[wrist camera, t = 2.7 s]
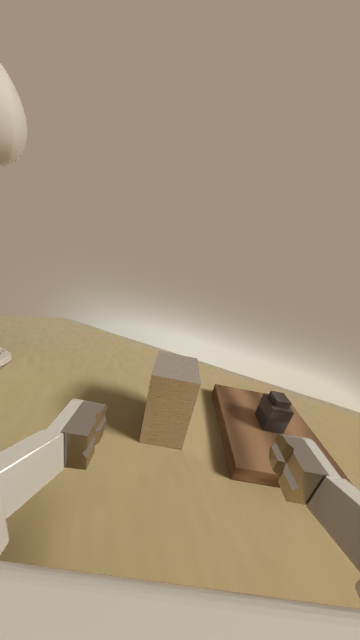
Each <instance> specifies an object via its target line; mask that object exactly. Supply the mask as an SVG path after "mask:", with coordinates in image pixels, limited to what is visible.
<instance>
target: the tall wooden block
mask: <svg viewBox="0 0 360 640" xmlns="http://www.w3.org/2000/svg"><path fill="white" fill-rule="evenodd" d="M200 385H201V382H200V375H199V368H198V360H197V358H191V357H186V356H182V355H177V354H172V353H166V352H161V351H159V352H158V355H157V358H156V362H155V365H154V368H153V372H152V375H151V381H150V386H149V392H148V397H147V402H146V408H145V413H144V419H143V424H142V430H141V435H140V440H139V442H142V443H148V444H153V445H159V446H165V447H170V448H176V449H182V447H183V443H184V440H185V436H186V433H187V430H188V426H189V423H190V419H191V416H192V413H193V409H194V406H195V402H196V399H197V396H198V392H199V389H200Z"/></svg>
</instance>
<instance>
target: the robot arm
mask: <svg viewBox="0 0 360 640" xmlns="http://www.w3.org/2000/svg"><path fill="white" fill-rule="evenodd" d="M26 142H27V122H26V117H25V113H24V109H23V106H22V103H21V100H20V98H19V95H18V93H17V91H16V89H15V87H14V85H13V83H12V81H11V79H10V77H9V76H8V74H7V72H6V71H5V69H4V67H3V66H2V64H1V63H0V165H3V166H6V165H9V164H11V163H13V162H14V161H16V160H17V159H18V158H19V157H20V156H21V154H22V153H23V151H24V148H25V146H26ZM11 360H12V356H11V353H9V352H8V351H6V350H4V349H3V348H1V347H0V367H1V366H3V365H4V364H6V363H8V362H9V361H11ZM106 412H107V405H106V404H101V403H96V402H91V401H86V400H80V399H75V398H74V399H72V400H71V401H70V402H69V403H68V404H67V405H66V407H65V408H64V409H63V410H62V411H61V412H60V414H59V415H58V416H57V417H56V418H55V420H54V421H53V422H52V423H51V424H50V425H49V427H48V428H47V429H46V430H40V431H38V432H36V433H35V434H33V435H31V436H29V437H27V438H25V439H23V440H22V441H20V442H18V443H16V444H14V445H12V446H10V447H9V448H7V449H5V450H3V451H1V452H0V555H1V553H2V552H3V550H4V548H5V547H6V545H7V544H8V542H9V533H8V527H7V522H6V519H7V518H8V517H9V516H10V515H11V514H13V513H14V512H15V511H16V510H17V509H18V508H19V507H21V506H22V505H23V504H24V503H25V502H26V501H27V500H29V499H30V498H31V497H32V496H33V495H34V494H35V493H37V492H38V491H39V490H40V489H41V488H42V487H44V486H45V485H46V484H47V483H48V482H49V481H50V480H52V479H53V478H54V477H55V476H56V475H57V474H58V473H60V472H61V471H62V470H63V469H64V467H66V468H74V469H83V470H86V469H87V467H88V465H89V462H90V460H91V458H92V456H93V454H94V450H95V445H96V444H97V443H99V442H100V440H101V437H102V435H103V432H104V429H105V426H106V417H105V414H106ZM274 440H275V442H276V443H275V444H274V445H272V446H271V447H270V450H269V461H270V465H271V467H272V469H273V471H274V472H275V473H276V474H277V475H278V476H279V478H278V483H279V485H280V488H281V490H282V492H283V495H284V497H285V499H286V501H288V502H293V503H299V504H304V505H307V506H306V507H307V508H308V509H309V510H310V512H311V513H312V514H313V515H314V516H315V518H316V519H317V520H318V521H319V523H320V524H321V525H322V526H323V527H324V529H325V530H326V531H327V532H328V534H329V535H330V536H331V537H332V538H333V540H334V541H335V542H336V543H337V545H338V546H339V547H340V548H341V549H342V551H343V552H344V553H345V554H346V556H347V557H348V558H349V559H350V560H351V562H352V563H353V564H354V565H355V567H356V568H357V569H358V570H359V571H360V491H359V490H358V489H357V488H356V487H354V486H353V485H352V484H351V483H349V482H348V481H347V480H346V479H342V478H341V477H340V475H339V474H338V473H337V471H336V470H335V469H334V467H333V466H332V465H331V463H330V462H329V461H328V459H327V458H326V457H325V455H324V454H323V453H322V451H321V450H320V449H319V447H318V446H317V445H316V443H315V442H314V441H313V440H311V439H309V438H303V437H297V436H291V435H284V434H278V435H276V437H275V439H274ZM355 589H356V591H357V593H358V595H359V597H360V580H359V581H358V582H357V583H356V586H355ZM0 640H360V609H358V608H350V607H343V606H336V605H328V604H321V603H313V602H306V601H298V600H291V599H283V598H276V597H269V596H261V595H254V594H246V593H239V592H231V591H224V590H217V589H209V588H202V587H194V586H187V585H179V584H172V583H165V582H157V581H150V580H142V579H135V578H127V577H120V576H112V575H105V574H97V573H90V572H83V571H75V570H68V569H60V568H53V567H45V566H38V565H30V564H23V563H15V562H8V561H1V560H0Z"/></svg>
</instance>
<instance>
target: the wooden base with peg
mask: <svg viewBox="0 0 360 640" xmlns="http://www.w3.org/2000/svg"><path fill="white" fill-rule="evenodd" d="M212 393H213V398H214V403H215V407H216V412H217V416H218V421H219V426H220V430H221V435H222V440H223V444H224V449H225V453H226V458H227V463H228V467H229V472H230V476H231V479H232V480H238V481H244V482H250V483H256V484H262V485H268V486H273V487H279V488H280V485H279V483H278V478H279V476H278V475H277V474H276V473H275V472H274V471H273V469H272V467H271V465H270V461H269V450H270V447H271V446H272V445H274V444H275V443H276V442H275V440H274V439H275V437H276V435H278V434H284V435H291V436H297V437H303V438H309V439H311V440H313V441H314V442H315V443H316V445H317V446H318V447H319V449H320V450H321V451H322V453H323V454H324V455H325V457H326V458H327V459H328V461H329V462H330V463H331V465H332V466H333V467H334V469H335V470H336V471H337V473H338V474H339V475H340V477H341V478H342V479H346V480H347V481H348V482H349V483H351V482H350V480H349V479H348V478H347V476H346V475H345V474H344V473H343V471H342V470H341V469H340V467H339V466H338V465H337V463H336V462H335V461H334V459H333V458H332V457H331V456H330V454H329V453H328V452H327V450H326V449H325V448H324V446H323V445H322V444H321V442H320V441H319V440H318V438H317V437H316V436H315V435H314V433H313V432H312V431H311V429H310V428H309V427H308V425H307V424H306V423H305V421H304V420H303V419H302V418H301V416H300V415H299V414H298V412H297V411H296V410H295V408H294V407H293V406H292V404H291V402H290V401H289V400H288V398H287V397H286V396H285V394H284V393H279V392H274V391H270V393H269V394H265V393H259V392H253V391H248V390H243V389H238V388H233V387H227V386H222V385H217V384H215V386H214V389H213V392H212ZM351 484H352V483H351ZM352 485H353V484H352Z"/></svg>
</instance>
